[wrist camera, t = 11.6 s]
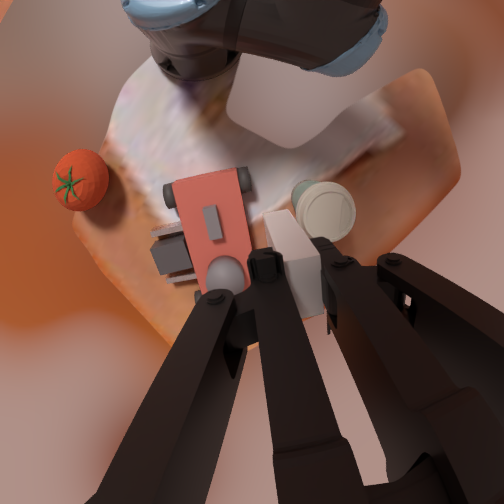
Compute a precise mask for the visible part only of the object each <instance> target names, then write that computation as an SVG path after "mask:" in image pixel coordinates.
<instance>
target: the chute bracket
mask: <svg viewBox="0 0 504 504" xmlns="http://www.w3.org/2000/svg"><path fill="white" fill-rule="evenodd" d="M179 231H183V228H182V224H181V221H179V222H174V223H170V224H166V225H161V226H157V227H154V228H153V229H152V230H151V232H150V233H151V236H152V237H156V236H161V235H165V234H170V233H174V232H179ZM191 279H197V277H196V273H195V270H194V268H189V269H184V270H180V271H176V272H172V273H168V274H167V277H166V281H167V284H169V283H174V282H180V281H185V280H191Z"/></svg>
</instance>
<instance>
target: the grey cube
mask: <svg viewBox="0 0 504 504" xmlns="http://www.w3.org/2000/svg"><path fill="white" fill-rule="evenodd" d="M150 251H151V253H152V256H153V258H154V261H155V263H156V266H157V268H158V271H159V273H160V275H164V274H168V273H172V272H176V271H180V270H184V269H188V268H192V267H193V263H192V260H191V256H190V253H189V249H188V246H187V242H186V239H185V235H184V233H183V234H179V235H175V236H172V237H168V238H165V239H161V240H158V241H155V243H154V244H153V246H152V247H151V249H150Z"/></svg>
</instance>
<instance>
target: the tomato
mask: <svg viewBox="0 0 504 504" xmlns="http://www.w3.org/2000/svg"><path fill="white" fill-rule="evenodd" d="M108 183H109V174H108V169H107V166H106V164H105V162H104V160H103V159H102V158H101V157H100V156H99V155H98V154H97V153H95V152H93V151H91V150H87V149H78V150H74V151H72V152H70V153H68V154H66V155H65V156H64V157H63V158H62V159H61V160H60V161H59V163H58V164H57V166H56V168H55V171H54V174H53V180H52V185H53V190H54V194H55V196H56V198H57V200H58V201H59V202H60V203H61V204H62V205H63V206H64V207H66V208H67V209H69V210H73V211H85V210H88V209H90V208H92V207H94V206H95V205H97V204H98V203H99V202H100V201H101V200H102V198H103V196H104V195H105V192H106V190H107V187H108Z"/></svg>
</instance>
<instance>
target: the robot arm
mask: <svg viewBox="0 0 504 504" xmlns="http://www.w3.org/2000/svg"><path fill="white" fill-rule="evenodd" d="M381 1H382V0H121V4H122V7H123V9H124V11H125V12H126V13H127V15H128V18H129V19H130V21H131V23H132V24H133V25H134V26H136V27H138V28H139V29H140V30H141V31H142V32H143V33H144V34H145V35H146V36H147V37H148V38H149V39H150V49H151V53H152V56H153V58H154V60H155V62H156V63H157V64H158V66H159V67H160V68H161V69H162V70H164V71H165V72H166V73H167V74H169V75H171V76H173V77H175V78H178V79H181V80H186V81H201V80H207V79H210V78H213V77H216V76H218V75H220V74H222V73H224V72H226V71H227V70H228V69H230V68H231V67H232V66H233V65H234V64H235V63H236V62H237V61H238V59H239V58H240V56H241V54H242V52H243V53H248V54H253V55H257V56H261V57H265V58H270V59H274V60H278V61H281V62H285V63H288V64H292V65H295V66H298V67H300V68H301V69H303V70H305V71H312V72H318V73H321V74H324V75H327V76H331V77H342V76H347V75H350V74H352V73H354V72H355V71H357V70H358V69H360V68H361V67H362V66H363V65H364V64H365V63H366V62H367V61H368V60H369V59H370V58H371V57H372V56H373V54H374V53H375V51H376V50H377V49H378V47H379V45H380V44H381V42H382V38H381V36H382V35H383V34H384V33H385V32H386V29H387V25H388V15H387V12H386V10H385V9H384V8H383V7H382V5H381V4H380V3H381ZM263 220H264V226H265V231H266V237H267V243H268V247H267V248H262V249H257V250H252V251H251V252H250V254H249V255H248V259H247V267H248V272H249V277H250V281H251V284H250V286H249V287H248V288H247V289H246V290H244V291H243V292H241V293H238V294H236V295H234V294H233V293H232V291H230V290H228V289H214V290H210V291H208V292H206V293H205V294H203V295H202V296H201V297H200V298H199V299H198V301H197V303H196V305H195V306H194V308H193V310H192V312H191V314H190V315H189V317H188V319H187V321H186V322H185V324H184V326H183V328H182V330H181V331H180V333H179V335H178V337H177V339H176V340H175V342H174V344H173V346H172V348H171V350H170V351H169V353H168V355H167V357H166V359H165V361H164V362H163V364H162V366H161V368H160V370H159V372H158V373H157V375H156V377H155V379H154V381H153V383H152V385H151V387H150V388H149V390H148V392H147V394H146V396H145V398H144V400H143V402H142V403H141V405H140V407H139V409H138V411H137V413H136V415H135V417H134V419H133V421H132V423H131V425H130V426H129V428H128V430H127V432H126V434H125V436H124V438H123V440H122V442H121V444H120V446H119V448H118V450H117V452H116V454H115V456H114V458H113V460H112V462H111V464H110V466H109V468H108V470H107V472H106V474H105V476H104V478H103V480H102V482H101V484H100V486H99V488H98V490H97V492H96V493H95V494H94V495H93V496H92V497H91V498H90V499H89V500H88V501H87V502H86V503H85V504H205V501H206V498H207V494H208V491H209V488H210V484H211V481H212V477H213V474H214V471H215V467H216V464H217V461H218V457H219V454H220V450H221V446H222V443H223V439H224V436H225V432H226V429H227V425H228V422H229V418H230V414H231V411H232V407H233V404H234V400H235V396H236V392H237V389H238V385H239V381H240V378H241V374H242V370H243V366H244V363H245V359H246V355H247V346H249V345H251V344H254V343H256V342H258V341H259V349H260V356H261V363H262V371H263V378H264V385H265V393H266V399H267V408H268V414H269V421H270V429H271V437H272V443H273V466H274V474H275V482H276V489H277V496H278V503H279V504H504V313H502V312H501V311H499V310H498V309H496V308H494V307H493V306H491V305H490V304H488V303H486V302H485V301H483V300H482V299H480V298H478V297H477V296H475V295H473V294H472V293H470V292H468V291H467V290H465V289H463V288H462V287H460V286H458V285H457V284H455V283H453V282H451V281H450V280H448V279H446V278H444V277H443V276H441V275H439V274H437V273H435V272H434V271H432V270H430V269H428V268H426V267H425V266H423V265H421V264H419V263H417V262H415V261H413V260H412V259H410V258H408V257H406V256H404V255H401V254H396V253H387V254H383V255H381V256H379V257H378V259H377V266H361V265H360V263H359V262H358V261H357V260H356V259H354V258H353V257H349V256H343V255H342V254H341V253H340V252H339V250H338V249H337V248H336V247H335V246H334V245H333V243H332V242H331V241H330V240H329V239H327V238H325V237H322V236H321V237H316V238H310V239H309V238H308V236H307V235H306V234H305V232H304V231H303V229H302V228H301V227H300V225H299V224H298V222H297V221H296V220H295V218H294V217H293V215H292V214H291V213H290V211H289V210H288V209H285V210H279V211H274V212H268V213H263ZM406 295H408V296H409V297H411V305H410V306H408V305H406V304H405V298H406ZM323 303H324V304H323ZM324 305H325V307H326V309H327V332H328V335H329V334H330V330H332V331H333V334H334V336H335V338H336V340H337V343H338V344H339V347H340V349H341V352H342V353H343V356H344V358H345V360H346V363H347V365H348V367H349V370H350V372H351V374H352V376H353V379H354V381H355V383H356V386H357V388H358V390H359V393H360V395H361V397H362V400H363V402H364V404H365V407H366V409H367V411H368V414H369V417H370V419H371V421H372V424H373V426H374V429H375V431H376V434H377V436H378V439H379V441H380V444H381V446H382V449H383V451H384V454H385V457H386V472H387V477H388V481H389V483H383V484H376V485H368V486H364V485H363V482H362V479H361V475H360V473H359V469H358V466H357V463H356V460H355V457H354V454H353V451H352V449H351V446H350V444H349V442H348V440H347V439H346V438H344V437H342V435H341V433H340V431H339V427H338V424H337V421H336V418H335V415H334V412H333V409H332V406H331V403H330V401H329V397H328V394H327V392H326V388H325V385H324V382H323V379H322V376H321V373H320V371H319V368H318V365H317V362H316V359H315V356H314V353H313V350H312V348H311V345H310V342H309V339H308V336H307V333H306V330H305V328H304V325H303V322H302V318H307V317H312V316H316V315H320V314H324Z"/></svg>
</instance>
